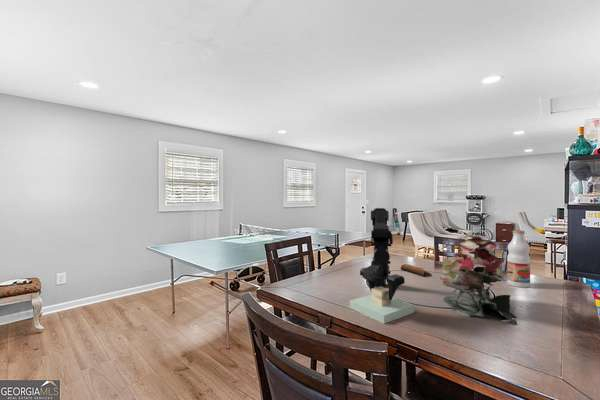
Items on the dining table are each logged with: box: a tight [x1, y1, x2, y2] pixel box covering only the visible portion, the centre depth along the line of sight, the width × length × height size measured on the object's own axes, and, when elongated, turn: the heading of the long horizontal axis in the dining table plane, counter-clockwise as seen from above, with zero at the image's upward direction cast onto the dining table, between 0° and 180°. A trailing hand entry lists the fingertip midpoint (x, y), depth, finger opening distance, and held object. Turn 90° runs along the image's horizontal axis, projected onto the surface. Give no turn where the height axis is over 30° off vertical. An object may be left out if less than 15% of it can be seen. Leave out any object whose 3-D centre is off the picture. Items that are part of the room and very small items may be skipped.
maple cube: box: [370, 286, 391, 306], centre depth 117 cm, size 6×6×6 cm
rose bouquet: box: [439, 235, 518, 326], centre depth 118 cm, size 26×29×30 cm
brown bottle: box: [400, 264, 433, 278], centre depth 173 cm, size 18×7×7 cm
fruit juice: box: [506, 229, 531, 289], centre depth 147 cm, size 9×9×28 cm
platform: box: [349, 294, 415, 324], centre depth 117 cm, size 18×18×3 cm
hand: (381, 296), depth 117 cm, fingers open, 9 cm apart
